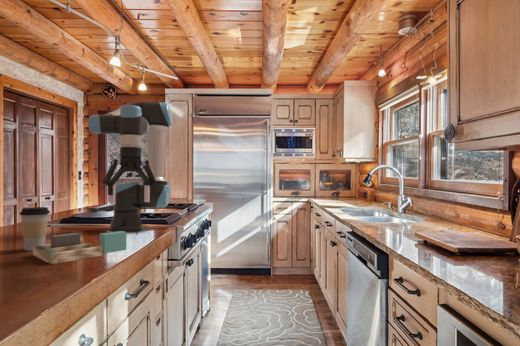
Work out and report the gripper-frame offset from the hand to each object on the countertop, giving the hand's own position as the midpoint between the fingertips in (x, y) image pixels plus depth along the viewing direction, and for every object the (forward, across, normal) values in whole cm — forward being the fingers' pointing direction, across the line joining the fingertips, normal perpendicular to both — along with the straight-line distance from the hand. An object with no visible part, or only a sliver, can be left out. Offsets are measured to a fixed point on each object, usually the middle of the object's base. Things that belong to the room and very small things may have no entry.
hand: (130, 203), depth 131 cm
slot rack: (+16, +20, -3) cm, 26 cm away
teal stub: (+17, +7, +1) cm, 18 cm away
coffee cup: (+17, +26, -22) cm, 37 cm away
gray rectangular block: (+17, +20, -7) cm, 27 cm away
